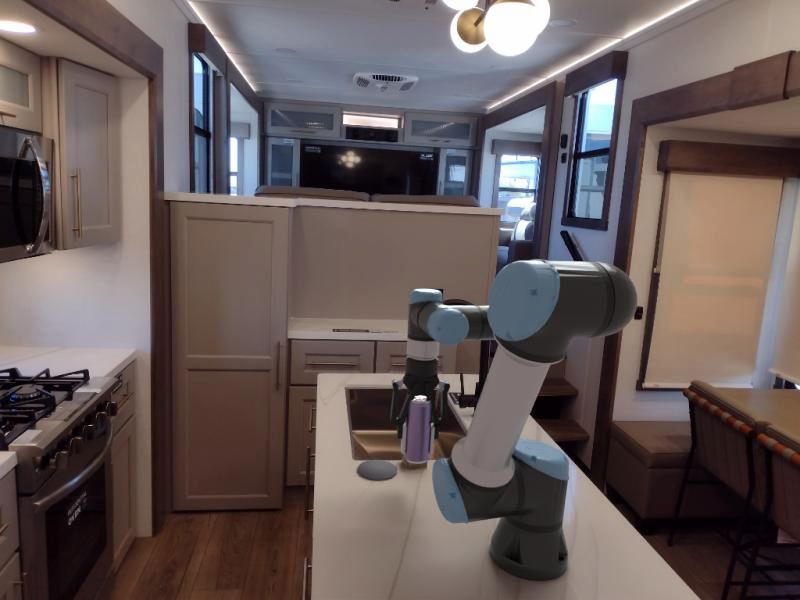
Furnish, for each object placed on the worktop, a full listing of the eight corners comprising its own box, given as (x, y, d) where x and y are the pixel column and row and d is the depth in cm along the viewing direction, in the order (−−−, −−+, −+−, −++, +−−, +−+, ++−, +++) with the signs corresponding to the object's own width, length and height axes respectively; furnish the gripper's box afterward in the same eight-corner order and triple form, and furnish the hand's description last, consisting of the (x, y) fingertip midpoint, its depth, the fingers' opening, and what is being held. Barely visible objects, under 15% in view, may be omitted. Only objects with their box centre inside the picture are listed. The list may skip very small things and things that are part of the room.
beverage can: (429, 465, 134) (433, 403, 132) (403, 463, 134) (407, 401, 132) (428, 454, 140) (432, 394, 138) (403, 453, 140) (407, 393, 138)
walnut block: (426, 467, 152) (428, 453, 151) (409, 470, 150) (410, 455, 149) (418, 459, 156) (419, 445, 156) (401, 461, 154) (402, 447, 153)
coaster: (398, 480, 144) (398, 478, 143) (358, 480, 142) (358, 477, 142) (395, 462, 153) (395, 460, 153) (357, 461, 152) (357, 459, 152)
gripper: (459, 353, 138) (453, 445, 141) (380, 351, 136) (375, 444, 139) (466, 361, 131) (459, 458, 134) (382, 359, 129) (377, 457, 132)
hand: (416, 451), depth 137 cm, fingers closed on beverage can, 6 cm apart
